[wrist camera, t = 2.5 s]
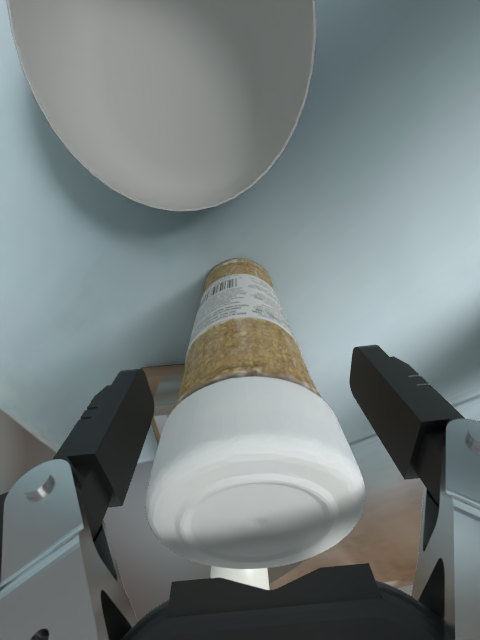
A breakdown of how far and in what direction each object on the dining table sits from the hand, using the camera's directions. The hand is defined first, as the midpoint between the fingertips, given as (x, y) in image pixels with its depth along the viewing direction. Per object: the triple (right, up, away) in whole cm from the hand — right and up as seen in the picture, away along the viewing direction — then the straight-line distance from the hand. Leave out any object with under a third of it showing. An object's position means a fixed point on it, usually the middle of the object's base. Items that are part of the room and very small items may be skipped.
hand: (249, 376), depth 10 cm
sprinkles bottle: (0, +4, +7) cm, 8 cm away
